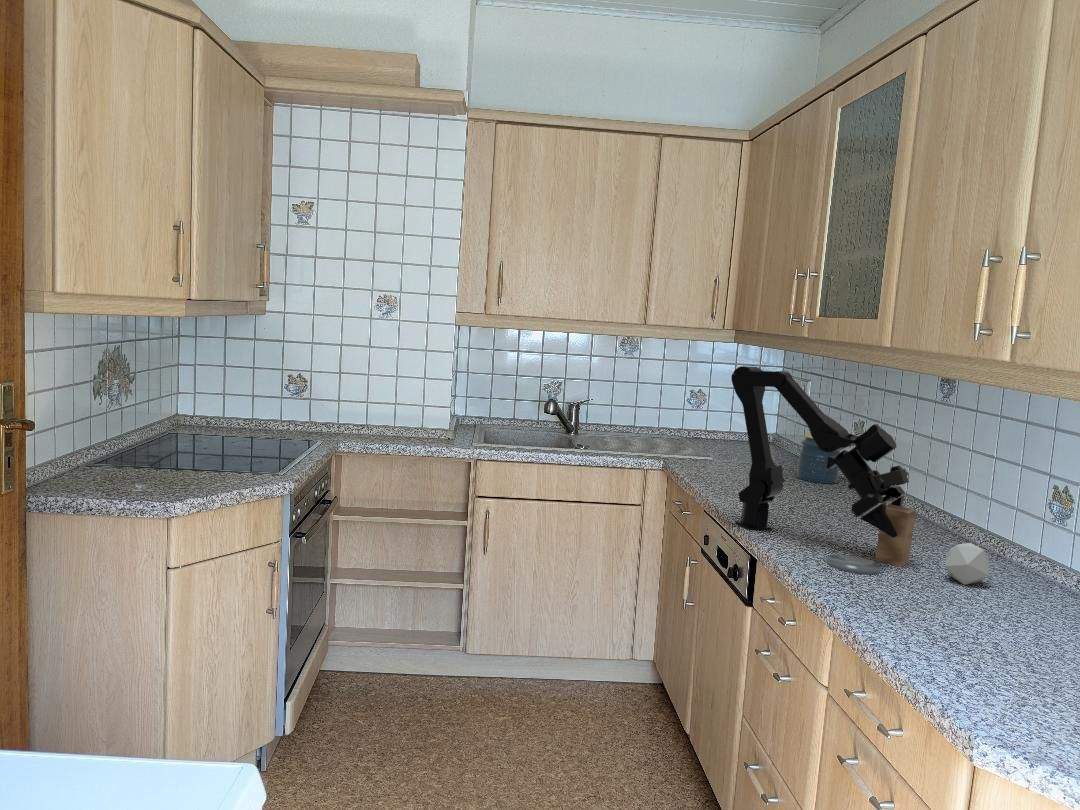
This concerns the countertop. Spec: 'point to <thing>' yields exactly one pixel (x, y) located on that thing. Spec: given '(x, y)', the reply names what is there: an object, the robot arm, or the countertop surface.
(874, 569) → the slate coaster
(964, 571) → the die
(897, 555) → the walnut block
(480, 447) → the countertop surface
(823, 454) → the canister
